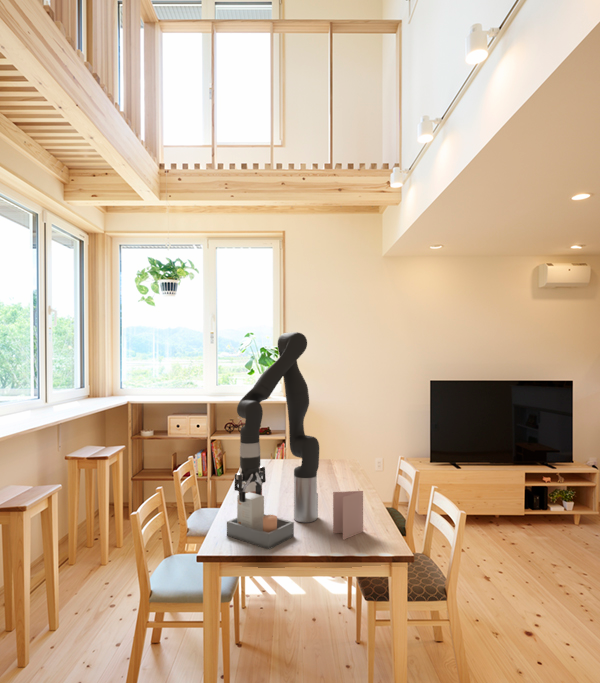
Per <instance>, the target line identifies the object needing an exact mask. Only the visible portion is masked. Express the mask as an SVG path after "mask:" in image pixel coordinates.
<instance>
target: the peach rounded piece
mask: <svg viewBox="0 0 600 683" xmlns="http://www.w3.org/2000/svg"><path fill="white" fill-rule="evenodd" d="M277 518H278V516H277V515H274V514H265V516H264V517H263V531H264V532H268V533H269V532H271V531H273V530H275V529H277Z"/></svg>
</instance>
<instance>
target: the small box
mask: <svg viewBox="0 0 600 683" xmlns="http://www.w3.org/2000/svg"><path fill="white" fill-rule="evenodd" d="M245 497H246V501H245V502H240V500H239V494H237V497H236V498H237V507H236V509H237V511H236V513H237V514H236V515H237V516H236V518H237V523H238V524H241V525H244V526H248V527H251V528H254V529H258V530H261V531H263V517H264V514H265V496H264V495H263V494H262V495H259V494H255V493H252V492H247V493H245Z"/></svg>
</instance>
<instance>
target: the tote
mask: <svg viewBox="0 0 600 683" xmlns="http://www.w3.org/2000/svg"><path fill="white" fill-rule="evenodd" d="M265 515H266V514H265V513H264V516H265ZM294 529H295V522H294V521H290V520H286V519H283V518H280V517H277V529H275V530H273V531H271V532H269V533H268V532H264V531H261V530H258V529H254V528H251V527H248V526H244V525H241V524H238V523H237V517H235V518H232V519H230V520H228V521H226V536H227V537H230V538H234V539H236V540H238V541H243V542H244V543H249V544H251V545H255V546H257V547H261V548H264V549H266V550H270V549H272V548H274V547H277V546H278V545H280V544H282V543H284V542H285V541H287V540H289V539H291V538H293V537H294V536H295V530H294Z"/></svg>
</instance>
